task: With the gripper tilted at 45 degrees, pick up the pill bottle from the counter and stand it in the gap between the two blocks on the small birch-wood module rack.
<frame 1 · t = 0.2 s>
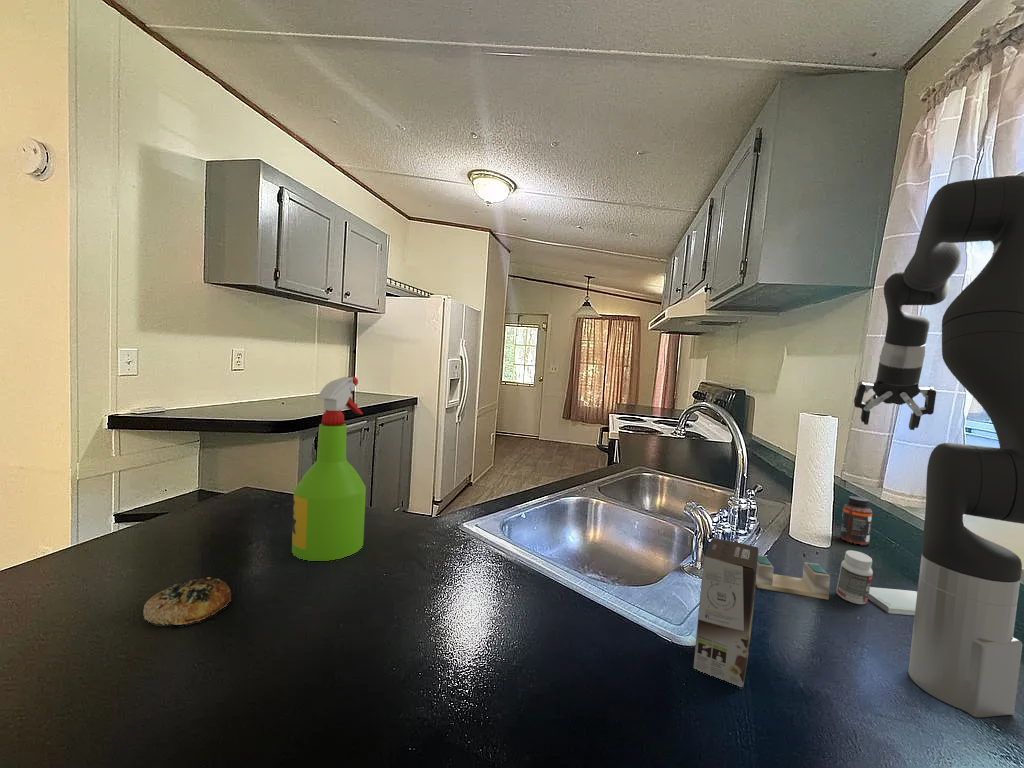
hand: (888, 426, 108), 31 cm above the counter, tool tilted 20°, fingers open, 8 cm apart
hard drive: (905, 607, 84), on the counter
spray bottle: (334, 544, 94), on the counter
coffee box: (721, 663, 64), on the counter
pill bottle: (851, 597, 85), on the counter
bread roll: (187, 611, 68), on the counter
module rack: (787, 586, 88), on the counter
supplement bottle: (854, 542, 115), on the counter
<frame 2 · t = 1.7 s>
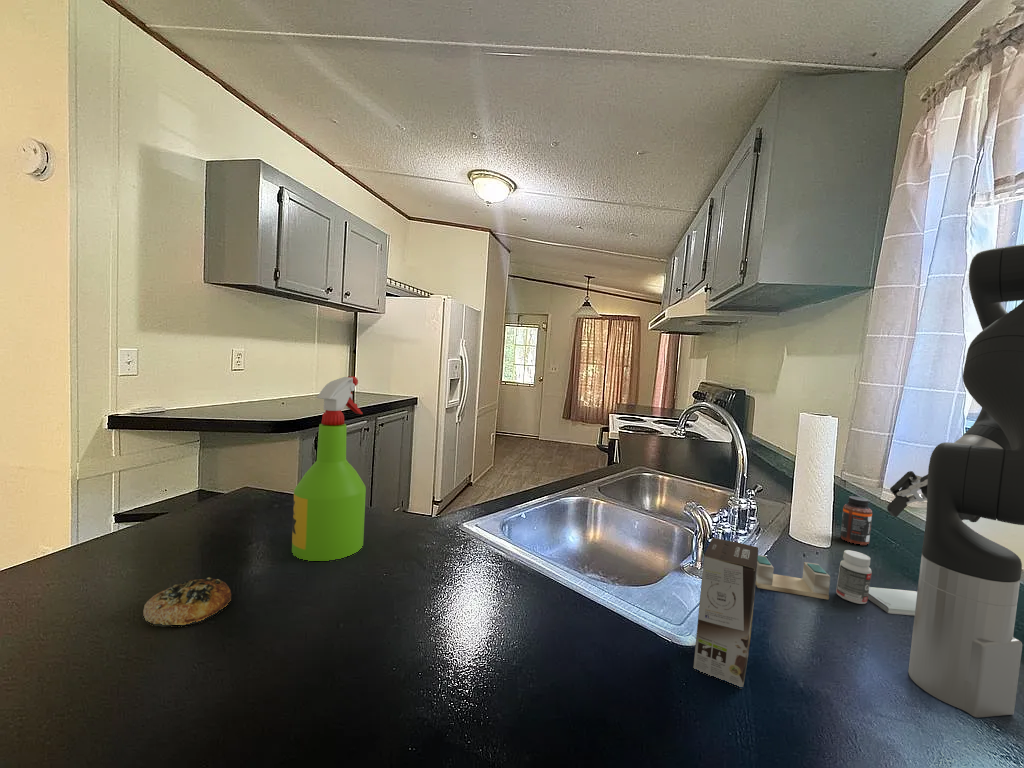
hand: (913, 521, 86), 15 cm above the counter, tool tilted 45°, fingers open, 8 cm apart
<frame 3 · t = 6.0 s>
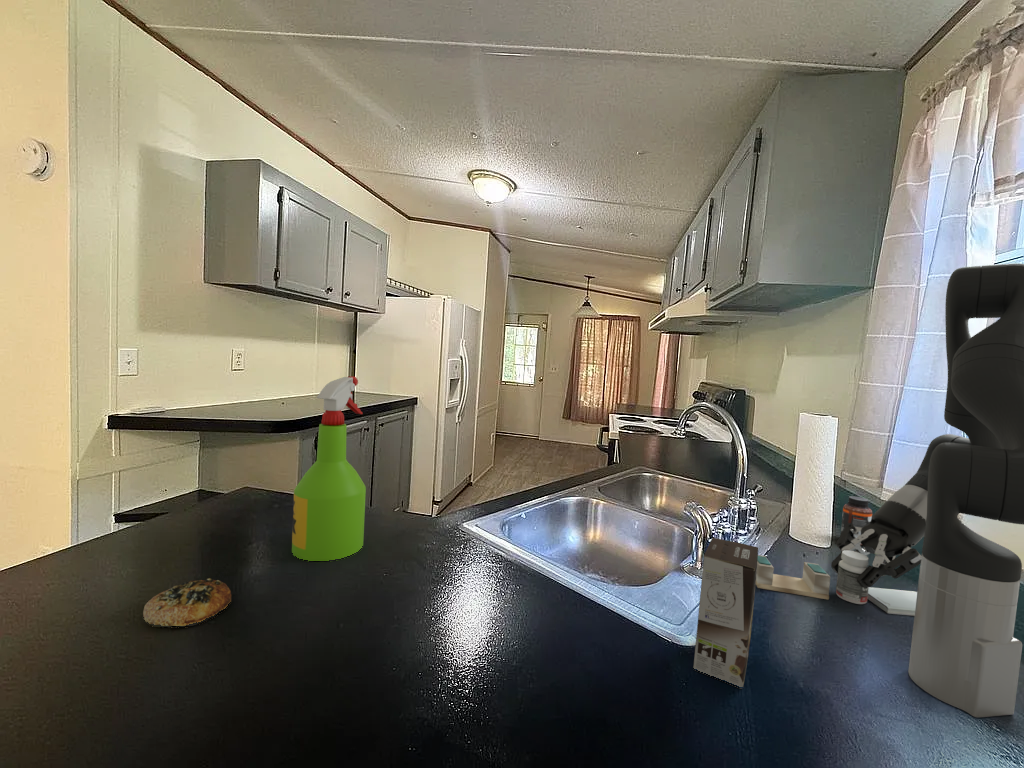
hand: (847, 577, 84), 4 cm above the counter, tool tilted 45°, fingers closed on pill bottle, 4 cm apart
pill bottle: (850, 599, 85), on the counter, touching gripper
everything else where it was.
when the fingers open (5 cm above the counter, at t = 11.9 s): pill bottle stays where it is, resting on module rack.
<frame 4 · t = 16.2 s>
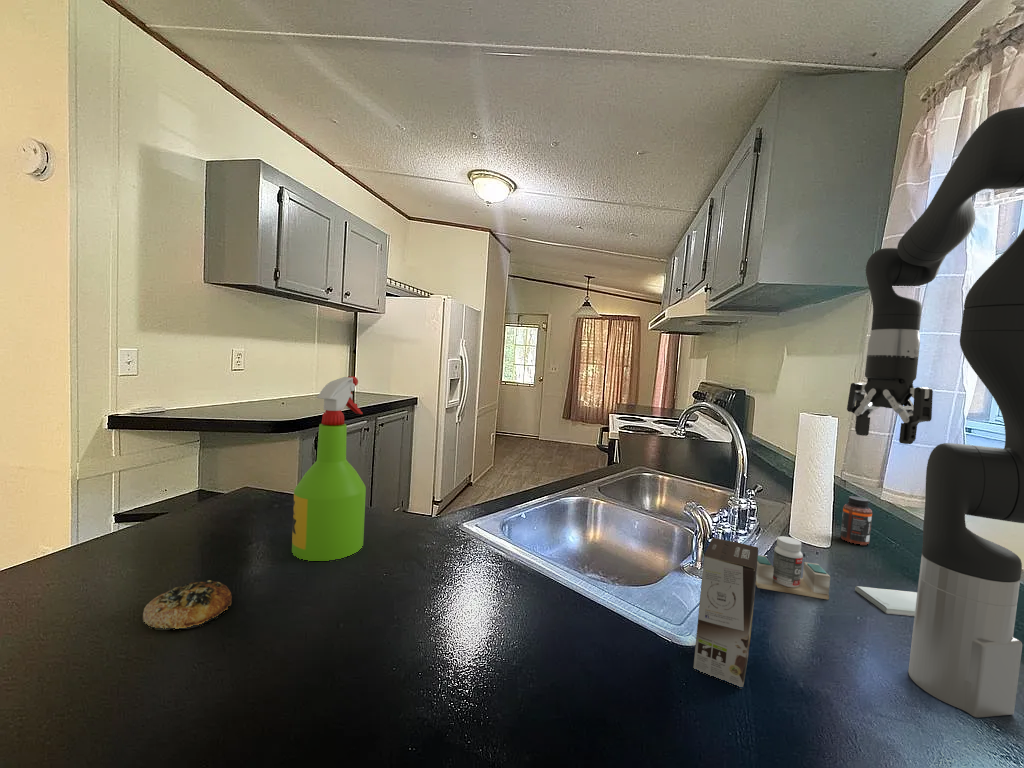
hand: (883, 439, 86), 30 cm above the counter, tool pointing down, fingers open, 8 cm apart
pill bottle: (785, 583, 88), point 1 cm above the counter, touching module rack
at the end: pill bottle 0.4 cm off-centre on the module rack, point 0.6 cm above the module rack's base; pill bottle tilted 0°; the gripper is holding nothing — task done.
